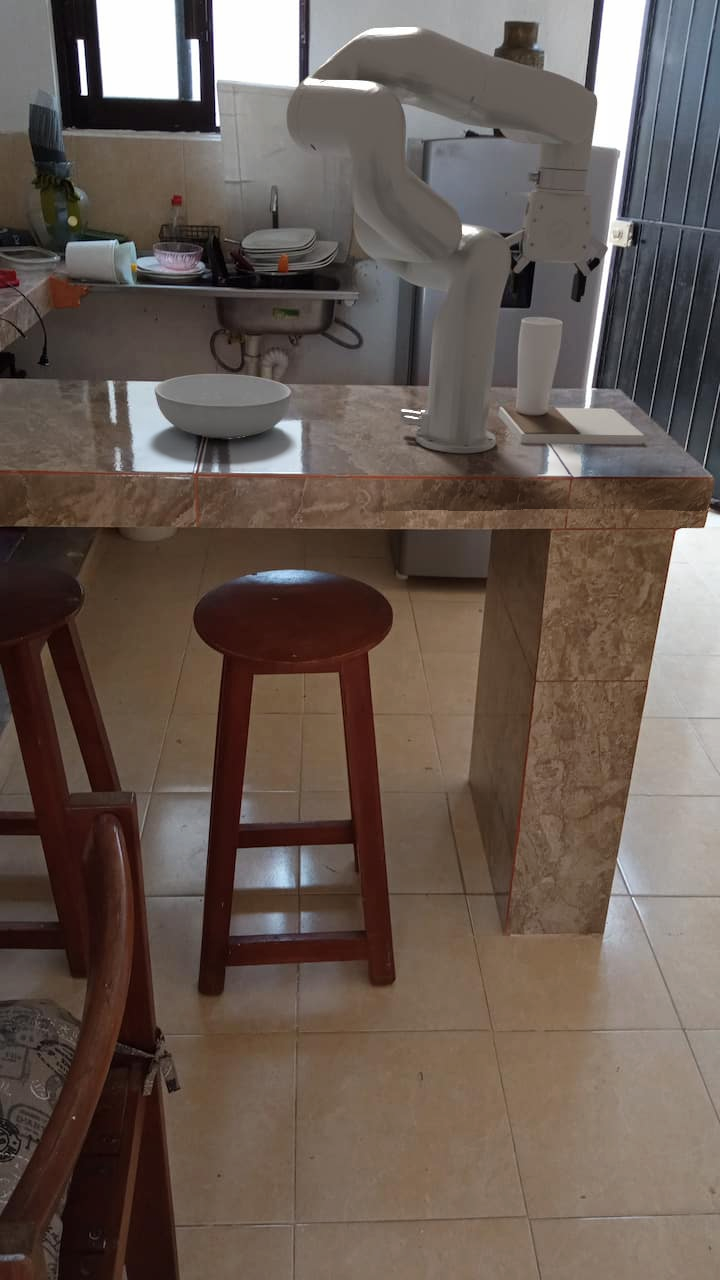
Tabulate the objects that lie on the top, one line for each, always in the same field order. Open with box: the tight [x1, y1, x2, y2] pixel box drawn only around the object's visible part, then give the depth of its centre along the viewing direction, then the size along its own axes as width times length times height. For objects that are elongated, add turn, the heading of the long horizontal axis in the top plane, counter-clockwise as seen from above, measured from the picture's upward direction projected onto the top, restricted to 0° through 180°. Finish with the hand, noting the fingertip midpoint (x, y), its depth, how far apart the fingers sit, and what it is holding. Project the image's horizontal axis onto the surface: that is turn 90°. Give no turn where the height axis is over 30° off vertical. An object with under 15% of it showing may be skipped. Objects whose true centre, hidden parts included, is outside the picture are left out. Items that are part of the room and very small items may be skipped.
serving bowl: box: [154, 373, 292, 440], centre depth 156 cm, size 21×21×7 cm
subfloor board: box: [498, 406, 645, 445], centre depth 166 cm, size 20×16×2 cm
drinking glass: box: [515, 316, 564, 416], centre depth 165 cm, size 7×7×15 cm
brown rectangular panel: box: [502, 405, 580, 434], centre depth 165 cm, size 9×16×2 cm, turn 5°
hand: (546, 299), depth 160 cm, fingers open, 9 cm apart
